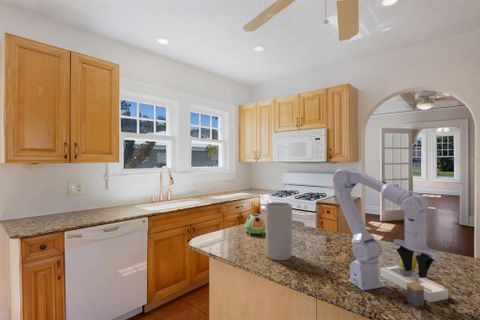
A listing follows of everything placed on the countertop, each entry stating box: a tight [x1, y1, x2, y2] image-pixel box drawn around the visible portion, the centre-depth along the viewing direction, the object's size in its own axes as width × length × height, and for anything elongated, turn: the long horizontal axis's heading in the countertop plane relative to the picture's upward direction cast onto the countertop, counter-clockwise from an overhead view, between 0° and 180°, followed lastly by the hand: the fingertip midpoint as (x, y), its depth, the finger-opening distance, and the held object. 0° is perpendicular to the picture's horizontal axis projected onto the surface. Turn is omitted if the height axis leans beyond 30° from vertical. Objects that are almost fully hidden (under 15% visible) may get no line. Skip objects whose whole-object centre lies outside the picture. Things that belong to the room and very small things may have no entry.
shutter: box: [390, 268, 413, 276], centre depth 98 cm, size 5×5×3 cm
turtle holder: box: [245, 213, 266, 237], centre depth 164 cm, size 12×18×12 cm
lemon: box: [399, 256, 417, 272], centre depth 105 cm, size 6×6×8 cm
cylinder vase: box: [265, 201, 293, 261], centre depth 124 cm, size 12×12×25 cm
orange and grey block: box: [406, 282, 425, 307], centre depth 83 cm, size 3×3×6 cm
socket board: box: [379, 264, 449, 303], centre depth 94 cm, size 20×8×4 cm, turn 16°
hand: (415, 274), depth 83 cm, fingers open, 4 cm apart
